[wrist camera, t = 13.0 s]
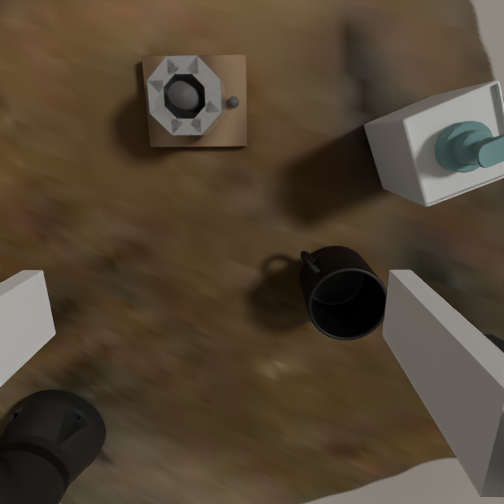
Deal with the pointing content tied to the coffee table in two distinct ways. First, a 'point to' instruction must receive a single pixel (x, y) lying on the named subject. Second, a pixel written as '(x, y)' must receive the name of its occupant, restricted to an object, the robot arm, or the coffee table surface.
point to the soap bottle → (441, 144)
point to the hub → (184, 71)
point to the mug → (342, 293)
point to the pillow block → (193, 101)
